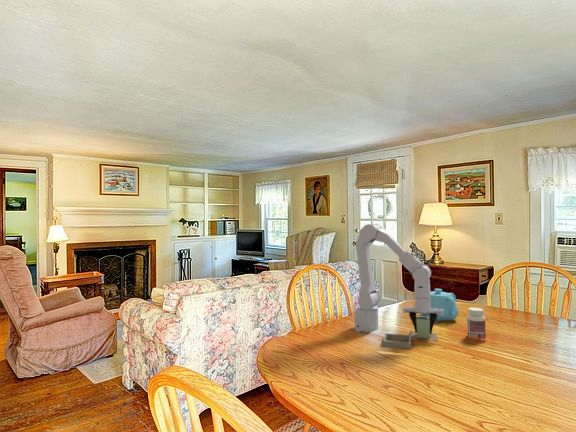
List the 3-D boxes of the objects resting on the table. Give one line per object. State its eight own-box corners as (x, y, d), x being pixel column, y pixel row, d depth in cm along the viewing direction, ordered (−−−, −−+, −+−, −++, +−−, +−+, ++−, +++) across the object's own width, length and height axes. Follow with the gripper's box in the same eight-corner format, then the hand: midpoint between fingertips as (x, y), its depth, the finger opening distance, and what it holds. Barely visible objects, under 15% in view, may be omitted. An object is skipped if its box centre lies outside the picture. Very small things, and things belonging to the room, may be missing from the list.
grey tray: (383, 348, 130) (382, 341, 130) (385, 339, 139) (385, 333, 139) (410, 350, 127) (410, 343, 127) (411, 342, 136) (411, 335, 136)
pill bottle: (489, 341, 136) (488, 310, 136) (474, 342, 135) (473, 311, 135) (478, 335, 142) (478, 306, 142) (464, 336, 141) (463, 307, 141)
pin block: (409, 341, 137) (409, 329, 137) (409, 333, 146) (409, 322, 146) (438, 343, 133) (437, 332, 133) (436, 335, 143) (436, 324, 143)
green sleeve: (417, 337, 138) (416, 319, 139) (417, 333, 143) (416, 315, 143) (429, 338, 137) (429, 319, 137) (429, 334, 141) (429, 316, 141)
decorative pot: (415, 320, 165) (414, 290, 165) (424, 312, 178) (424, 284, 178) (454, 326, 155) (453, 294, 156) (461, 317, 169) (460, 287, 169)
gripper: (442, 296, 141) (443, 331, 141) (403, 294, 146) (403, 327, 146) (443, 299, 135) (444, 336, 135) (402, 297, 140) (403, 333, 139)
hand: (423, 332), depth 140 cm, fingers closed on green sleeve, 5 cm apart
